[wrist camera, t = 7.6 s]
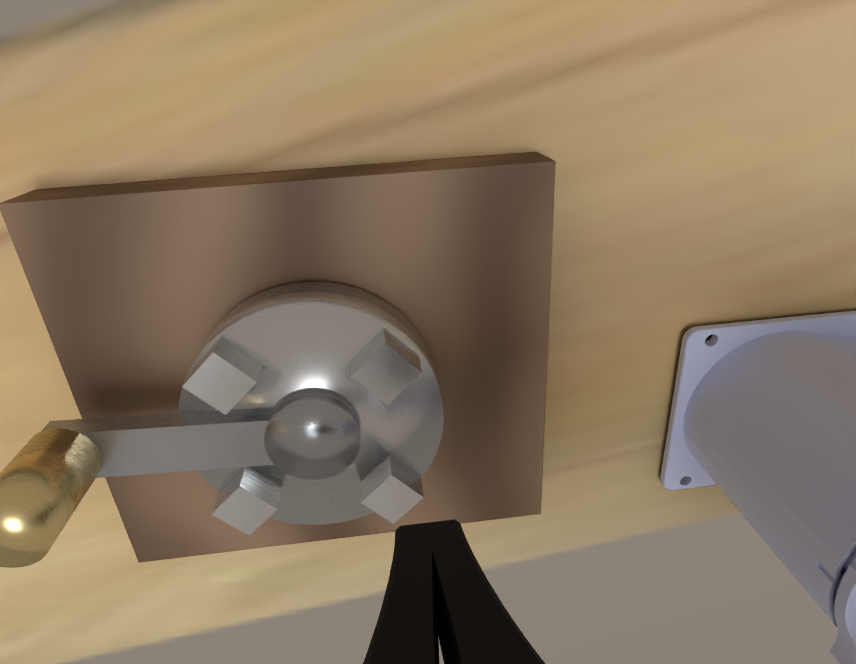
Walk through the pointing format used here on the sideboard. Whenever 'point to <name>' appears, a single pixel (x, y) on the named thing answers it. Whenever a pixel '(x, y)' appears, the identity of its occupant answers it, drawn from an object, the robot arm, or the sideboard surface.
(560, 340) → the sideboard surface
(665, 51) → the sideboard surface
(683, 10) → the sideboard surface
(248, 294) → the base plate
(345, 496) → the grey crank wheel
